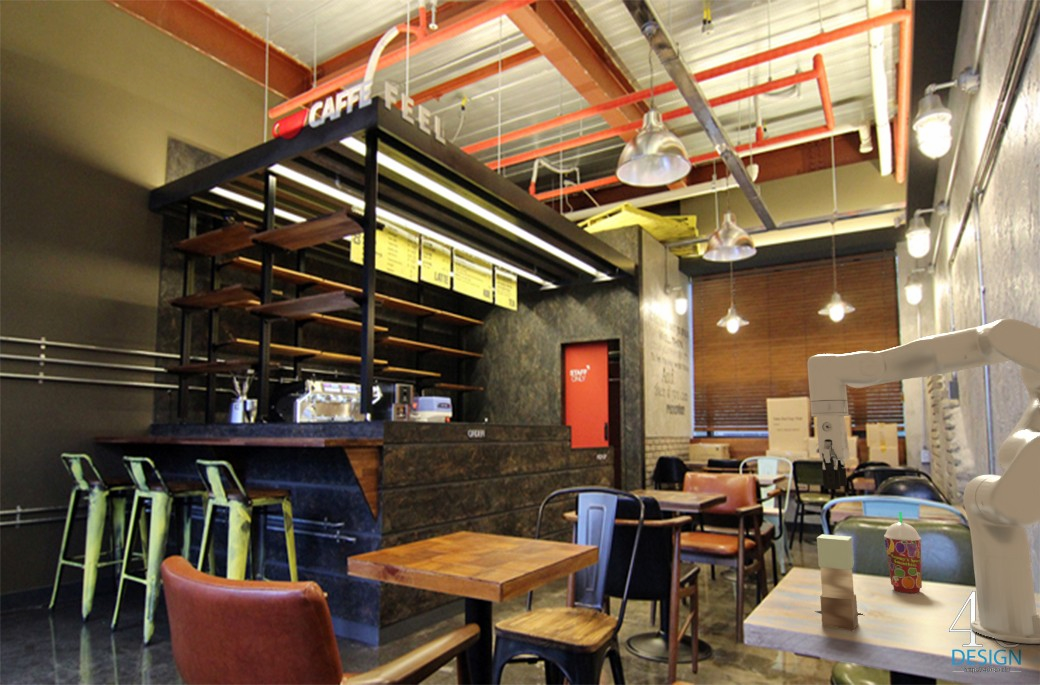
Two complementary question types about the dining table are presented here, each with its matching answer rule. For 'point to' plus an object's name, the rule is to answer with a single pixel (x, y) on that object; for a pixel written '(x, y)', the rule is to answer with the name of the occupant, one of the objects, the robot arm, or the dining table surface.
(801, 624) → the dining table surface
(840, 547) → the sage block
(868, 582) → the dining table surface
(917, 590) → the smoothie
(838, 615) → the tower base
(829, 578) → the tower top
